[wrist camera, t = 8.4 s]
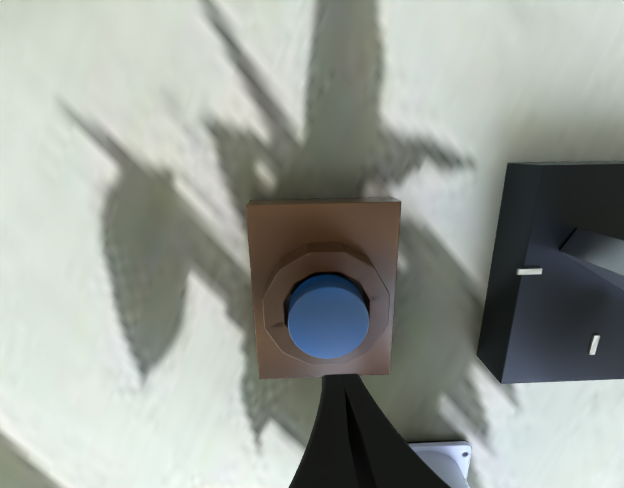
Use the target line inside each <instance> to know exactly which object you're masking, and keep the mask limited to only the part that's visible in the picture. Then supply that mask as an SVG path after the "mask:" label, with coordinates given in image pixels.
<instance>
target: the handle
mask: <svg viewBox="0 0 624 488" xmlns="http://www.w3.org/2000/svg"><path fill="white" fill-rule="evenodd" d="M560 252H561V253H563V254H565V255H566V256H568V257H570V258H571V259H573V260H574V261H576V262H578V263H579V264H581V265H583V266H584V267H586V268H587V269H589V270H591V271H592V272H594V273H595V274H597V275H599V276H600V277H602V278H604V279H605V280H607V281H608V282H610V283H612V284H613V285H615V286H617V287H618V288H620V289H621V290H623V291H624V241H623V240H620V239H616V238H613V237H609V236H606V235H602V234H599V233H595V232H592V231H588V230H585V229H581V228H578V229H577V230H576V231H575V232H574V233H573V235H572V236H571V237H570V238H569V240H568V241H567V242H566V243H565V245H564V246H563V247H562V248H561V250H560Z"/></svg>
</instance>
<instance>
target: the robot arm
mask: <svg viewBox="0 0 624 488" xmlns="http://www.w3.org/2000/svg"><path fill="white" fill-rule="evenodd" d="M471 450H472V447H471V445H470V444H469V442H467V441H455V442H433V443H410V444H407V443H406V441H405V440H404V439H403V438H402V437H401V436H400V434H399V433H398V432H397V431H396V429H395V428H394V427H393V426H392V424H391V423H390V422H389V420H388V419H387V418H386V416H385V415H384V414H383V412H382V411H381V409H380V408H379V407H378V405H377V404H376V402H375V401H374V399H373V398H372V396H371V395H370V393H369V392H368V390H367V388H366V387H365V385H364V383H363V382H362V380H361V378H360V376H359V375H358V374H332V375H324V376H323V377H322V392H321V398H320V404H319V408H318V412H317V416H316V420H315V423H314V426H313V429H312V433H311V436H310V439H309V442H308V444H307V447H306V450H305V452H304V455H303V457H302V460H301V462H300V465H299V467H298V469H297V471H296V473H295V476H294V478H293V480H292V482H291V484H290V486H289V488H470V487H469V485H468V483H467V481H466V479H467V474H468V468H469V462H470V456H471Z"/></svg>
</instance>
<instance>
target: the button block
mask: <svg viewBox="0 0 624 488" xmlns="http://www.w3.org/2000/svg"><path fill="white" fill-rule="evenodd" d="M400 214H401V201H399V200H397V199H395V198H393V197H388V198H341V199H293V200H250V201H249V202H248V203H247V204H246V216H247V229H248V242H249V255H250V268H251V281H252V294H253V306H254V319H255V332H256V345H257V358H258V371H259V379H279V378H305V377H323V376H324V375H332V374H358V375H384V374H390V362H391V347H392V332H393V317H394V303H395V288H396V273H397V258H398V243H399V228H400ZM325 274H331V275H337V276H341V277H343V278H345V279H347V280H349V281H350V282H351V283H353V284H354V285H355V286H356V287H357V289H358V290H359V292H360V294H361V296H362V298H363V300H364V303H365V305H366V308H367V310H368V314H369V328H368V332H367V334H366V336H365V338H364V340H363V341H362V343H361V344H360V345H359V346H358V347H357V348H356V349H354V350H353V351H352V352H350V353H348V354H346V355H344V356H341V357H337V358H330V359H324V358H317V357H314V356H311V355H309V354H307V353H305V352H303V351H302V350H301V349H300V348H298V347H297V345H296V344H295V343H294V342H293V340H292V338H291V336H290V334H289V330H288V312H289V303H290V299H291V297H292V295H293V293H294V291H295V290H296V289H297V287H298V286H299V285H300V284H302V283H303V282H304V281H306V280H307V279H309V278H312V277H314V276H318V275H325Z"/></svg>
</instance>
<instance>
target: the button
mask: <svg viewBox="0 0 624 488" xmlns="http://www.w3.org/2000/svg"><path fill="white" fill-rule="evenodd" d="M368 328H369V314H368V310H367V308H366V305H365V303H364V300H363V298H362V296H361V294H360V292H359V290H358V289H357V287H356V286H355V285H354V284H353V283H351V282H350V281H349V280H347V279H345V278H343V277H341V276H337V275H331V274H325V275H318V276H314V277H312V278H309V279H307V280H306V281H304V282H303V283H302V284H300V285H299V286H298V287H297V289H296V290H295V291H294V293H293V295H292V297H291V299H290V303H289V312H288V330H289V334H290V336H291V338H292V340H293V342H294V343H295V344H296V345H297V347H298V348H300V349H301V350H302V351H303V352H305V353H307V354H309V355H311V356H314V357H317V358H324V359H330V358H337V357H341V356H344V355H346V354H348V353H350V352H352V351H353V350H354V349H356V348H357V347H358V346H359V345H360V344H361V343H362V341H363V340H364V338H365V336H366V334H367V332H368Z"/></svg>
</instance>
